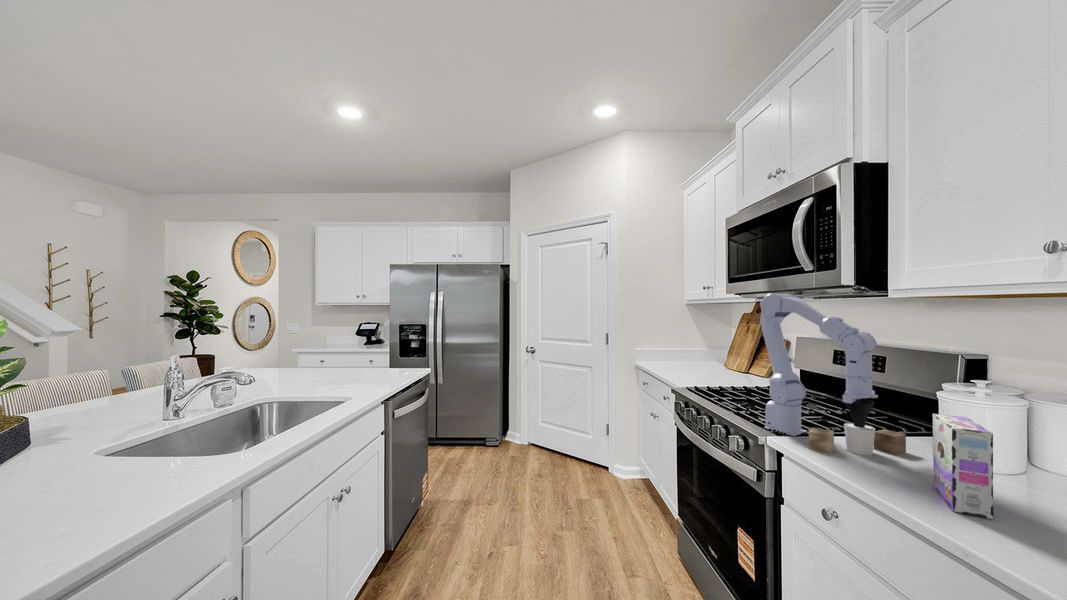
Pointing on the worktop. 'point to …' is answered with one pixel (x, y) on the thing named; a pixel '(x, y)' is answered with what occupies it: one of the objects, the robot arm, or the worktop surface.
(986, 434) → the candy box
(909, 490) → the worktop surface
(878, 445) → the walnut block
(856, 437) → the white cup
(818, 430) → the oak block
